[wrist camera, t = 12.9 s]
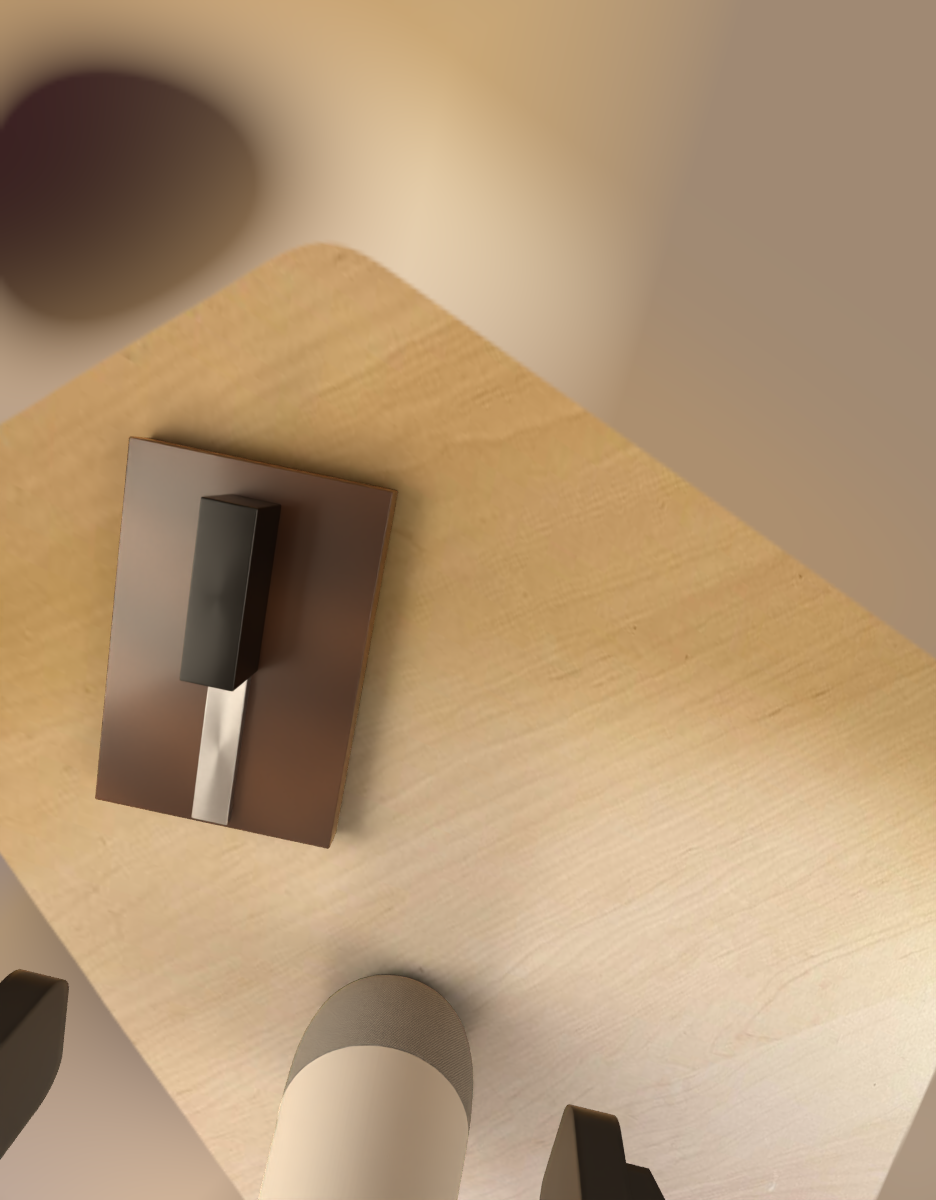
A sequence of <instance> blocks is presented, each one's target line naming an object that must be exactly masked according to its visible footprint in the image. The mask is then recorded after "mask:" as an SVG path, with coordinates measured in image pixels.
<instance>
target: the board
mask: <svg viewBox="0 0 936 1200" xmlns="http://www.w3.org/2000/svg"><path fill="white" fill-rule="evenodd" d="M224 494H235V495H240V496H244V497H249V498H254V499H259V500H263V501H268V502H273V503H278V504H281V513H280V520H279V527H278V534H277V541H276V548H275V555H274V562H273V569H272V576H271V583H270V589H269V596H268V603H267V610H266V617H265V624H264V631H263V638H262V645H261V652H260V659H259V666H258V671H257V672H256V673H254V674H253V675H252V676H251V679H250V686H249V693H248V700H247V707H246V714H245V722H244V729H243V736H242V743H241V750H240V757H239V764H238V771H237V778H236V785H235V792H234V799H233V806H232V813H231V820H230V821H229V823H228V824H227V825H223V824H219V823H214V822H209V821H204V820H200V819H195V818H192V809H193V801H194V793H195V785H196V778H197V770H198V762H199V754H200V746H201V739H202V731H203V723H204V715H205V707H206V699H207V692H208V686H203V685H198V684H193V683H189V682H184V681H180V680H179V678H180V670H181V661H182V653H183V644H184V636H185V627H186V619H187V610H188V602H189V593H190V585H191V576H192V568H193V559H194V551H195V542H196V534H197V525H198V517H199V508H200V500H201V497H203V496H213V495H224ZM397 494H398V491H397V490H392V489H387V488H383V487H378V486H373V485H368V484H364V483H359V482H354V481H349V480H345V479H340V478H335V477H330V476H326V475H321V474H316V473H311V472H307V471H302V470H297V469H292V468H288V467H283V466H278V465H273V464H269V463H264V462H259V461H254V460H250V459H245V458H240V457H236V456H231V455H226V454H221V453H217V452H212V451H207V450H202V449H198V448H193V447H188V446H183V445H179V444H174V443H169V442H164V441H160V440H155V439H150V438H142V437H130V438H129V447H128V458H127V469H126V479H125V490H124V500H123V511H122V521H121V532H120V542H119V553H118V563H117V574H116V585H115V595H114V606H113V616H112V627H111V637H110V648H109V658H108V669H107V679H106V690H105V701H104V711H103V722H102V732H101V743H100V753H99V764H98V774H97V785H96V795H95V799H98V800H103V801H108V802H112V803H117V804H122V805H126V806H131V807H136V808H140V809H145V810H150V811H154V812H159V813H164V814H168V815H173V816H178V817H182V818H187V819H192V820H196V821H201V822H206V823H211V824H215V825H220V826H225V827H229V828H234V829H239V830H243V831H248V832H253V833H257V834H262V835H267V836H271V837H276V838H281V839H285V840H290V841H295V842H299V843H304V844H309V845H313V846H318V847H323V848H327V849H328V848H329V847H330V845H331V843H332V841H333V839H334V836H335V834H336V831H337V825H338V820H339V814H340V809H341V803H342V798H343V792H344V787H345V781H346V776H347V770H348V765H349V759H350V754H351V748H352V742H353V737H354V731H355V726H356V720H357V715H358V709H359V704H360V698H361V693H362V687H363V682H364V676H365V671H366V665H367V660H368V654H369V649H370V643H371V638H372V632H373V627H374V621H375V616H376V610H377V605H378V599H379V593H380V588H381V582H382V577H383V571H384V566H385V560H386V555H387V549H388V544H389V538H390V533H391V527H392V522H393V516H394V511H395V505H396V500H397Z"/></svg>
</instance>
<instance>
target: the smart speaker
mask: <svg viewBox="0 0 936 1200" xmlns="http://www.w3.org/2000/svg"><path fill="white" fill-rule="evenodd" d="M472 1098H473V1066H472V1059H471V1052H470V1047H469V1043H468V1039H467V1036H466V1033H465V1030H464V1028H463V1025H462V1023H461V1021H460V1019H459V1017H458V1016H457V1014H456V1012H455V1011H454V1009H453V1008H452V1007H451V1005H450V1004H449V1003H448V1002H447V1001H446V1000H445V999H444V998H443V997H442V996H441V995H440V994H439V993H438V992H436V991H435V990H434V989H432V988H430V987H429V986H427V985H425V984H423V983H421V982H419V981H416V980H414V979H411V978H407V977H403V976H397V975H376V976H370V977H365V978H362V979H359V980H356V981H354V982H352V983H350V984H348V985H346V986H344V987H343V988H341V989H340V990H339V991H337V992H336V993H335V994H334V995H332V996H331V997H330V998H329V999H328V1000H327V1001H326V1002H325V1003H324V1004H323V1005H322V1007H321V1008H320V1009H319V1010H318V1012H317V1013H316V1015H315V1016H314V1017H313V1019H312V1021H311V1022H310V1024H309V1026H308V1027H307V1029H306V1031H305V1033H304V1035H303V1037H302V1039H301V1041H300V1043H299V1046H298V1048H297V1051H296V1053H295V1056H294V1059H293V1062H292V1065H291V1068H290V1072H289V1075H288V1078H287V1082H286V1085H285V1089H284V1093H283V1096H282V1100H281V1104H280V1108H279V1112H278V1116H277V1121H276V1125H275V1129H274V1134H273V1138H272V1142H271V1147H270V1151H269V1155H268V1159H267V1164H266V1168H265V1172H264V1177H263V1181H262V1185H261V1190H260V1194H259V1198H258V1200H457V1199H458V1194H459V1188H460V1182H461V1177H462V1171H463V1165H464V1160H465V1154H466V1148H467V1143H468V1135H469V1128H470V1119H471V1110H472Z"/></svg>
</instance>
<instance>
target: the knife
mask: <svg viewBox="0 0 936 1200" xmlns="http://www.w3.org/2000/svg"><path fill="white" fill-rule="evenodd" d="M280 513H281V504H278V503H273V502H268V501H263V500H259V499H254V498H249V497H244V496H240V495H235V494H224V495H213V496H203V497H201V500H200V508H199V517H198V525H197V534H196V542H195V551H194V559H193V568H192V576H191V585H190V593H189V602H188V610H187V619H186V627H185V636H184V644H183V653H182V661H181V670H180V678H179V680H180V681H184V682H189V683H193V684H198V685H203V686H208V692H207V699H206V707H205V715H204V723H203V731H202V739H201V746H200V754H199V762H198V770H197V778H196V785H195V793H194V801H193V809H192V818H195V819H200V820H204V821H209V822H214V823H219V824H223V825H227V824H228V823H229V821H230V820H231V813H232V806H233V799H234V792H235V785H236V778H237V771H238V764H239V757H240V750H241V743H242V736H243V729H244V722H245V714H246V707H247V700H248V693H249V686H250V679H251V676H252V675H253V674H254V673H256V672H257V671H258V666H259V659H260V652H261V645H262V638H263V631H264V624H265V617H266V610H267V603H268V596H269V589H270V583H271V576H272V569H273V562H274V555H275V548H276V541H277V534H278V527H279V520H280Z"/></svg>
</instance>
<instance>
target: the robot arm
mask: <svg viewBox="0 0 936 1200" xmlns="http://www.w3.org/2000/svg"><path fill="white" fill-rule="evenodd" d="M68 990H69V986H68V983H67V981H66V980H63V979H59V978H54V977H51V976H46V975H42V974H38V973H34V972H30V971H26V970H21V969H19V970H16V971H14V972H12V973H11V974H9V975H8V976H7V977H6V978H5V979H4V980H3V981H2V982H1V983H0V1159H1V1158H2V1157H3V1155H4V1154H5V1152H6V1151H7V1150H8V1148H9V1147H10V1146H11V1144H12V1143H13V1142H14V1140H15V1139H16V1138H17V1136H18V1135H19V1133H20V1132H21V1131H22V1129H23V1128H24V1126H25V1125H26V1124H27V1122H28V1121H29V1120H30V1119H31V1117H32V1116H33V1115H34V1113H35V1112H36V1110H37V1109H38V1107H39V1106H40V1105H41V1103H42V1102H43V1100H44V1099H45V1097H46V1095H47V1093H48V1092H49V1090H50V1088H51V1086H52V1084H53V1082H54V1079H55V1077H56V1075H57V1072H58V1069H59V1066H60V1063H61V1059H62V1052H63V1042H64V1032H65V1022H66V1011H67V1002H68ZM540 1200H665V1198H664V1196H663V1195H662V1193H661V1191H660V1189H659V1187H658V1185H657V1183H656V1181H655V1179H654V1177H653V1175H652V1173H651V1171H650V1170H649V1169H648V1168H644V1167H640V1166H636V1165H632V1164H628V1163H626V1160H625V1154H624V1147H623V1141H622V1135H621V1130H620V1125H619V1122H618V1119H617V1117H616V1116H615V1115H611V1114H607V1113H603V1112H599V1111H595V1110H591V1109H587V1108H582V1107H578V1106H574V1105H570V1104H568V1105H567V1106H566V1108H565V1110H564V1113H563V1116H562V1119H561V1122H560V1125H559V1129H558V1132H557V1135H556V1138H555V1142H554V1145H553V1148H552V1151H551V1155H550V1158H549V1161H548V1164H547V1167H546V1171H545V1174H544V1178H543V1182H542V1187H541V1194H540Z"/></svg>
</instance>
